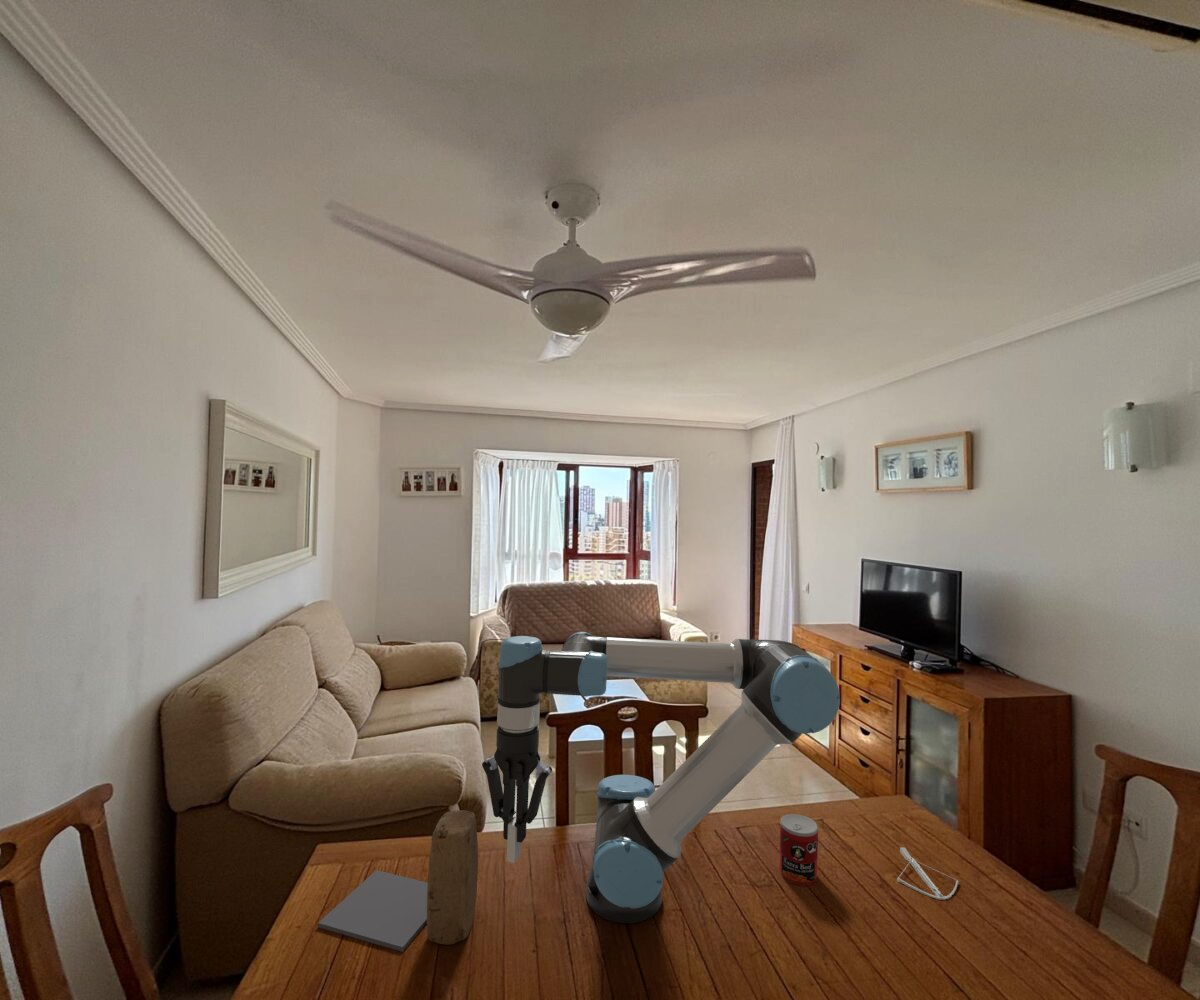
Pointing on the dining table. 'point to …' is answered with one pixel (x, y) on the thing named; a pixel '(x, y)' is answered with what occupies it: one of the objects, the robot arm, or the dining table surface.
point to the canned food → (798, 849)
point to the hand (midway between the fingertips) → (513, 857)
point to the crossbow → (924, 878)
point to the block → (452, 878)
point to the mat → (381, 911)
